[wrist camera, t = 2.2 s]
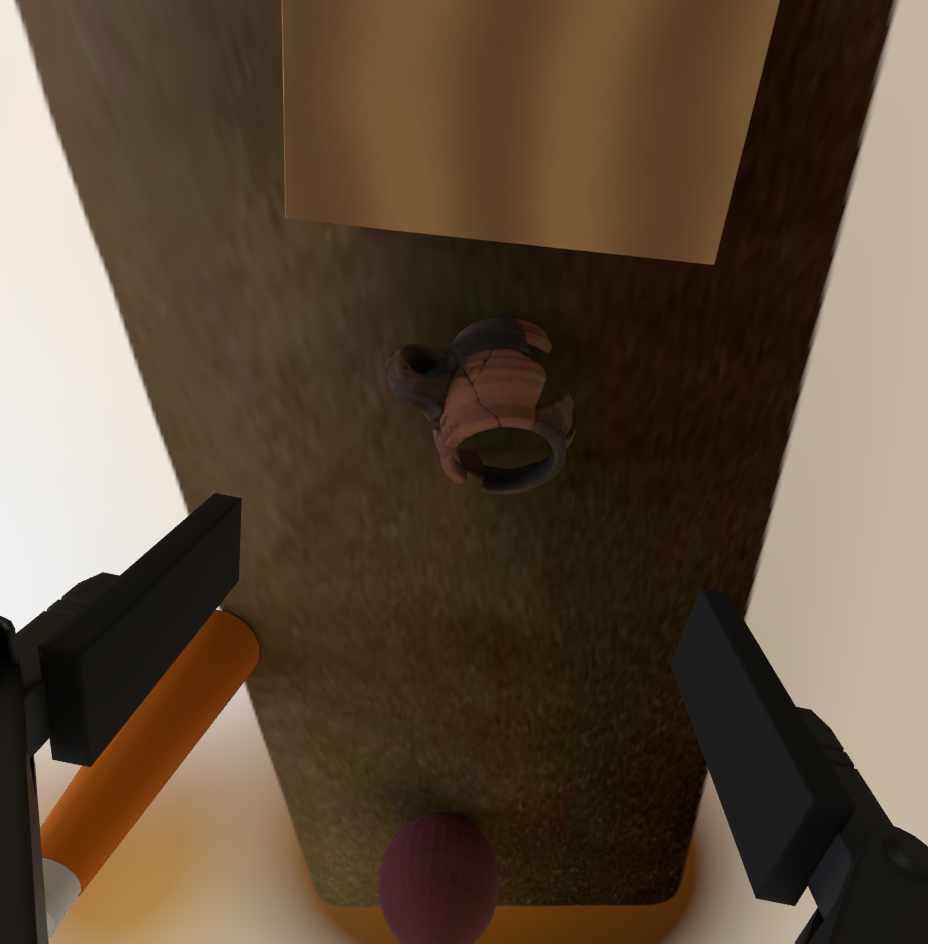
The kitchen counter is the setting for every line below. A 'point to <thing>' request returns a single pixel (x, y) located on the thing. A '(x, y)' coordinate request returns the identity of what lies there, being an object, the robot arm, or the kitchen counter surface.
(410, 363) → the pottery mug
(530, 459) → the kitchen counter surface
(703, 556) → the kitchen counter surface
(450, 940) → the decorative ball
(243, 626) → the spray bottle
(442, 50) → the tan open box
